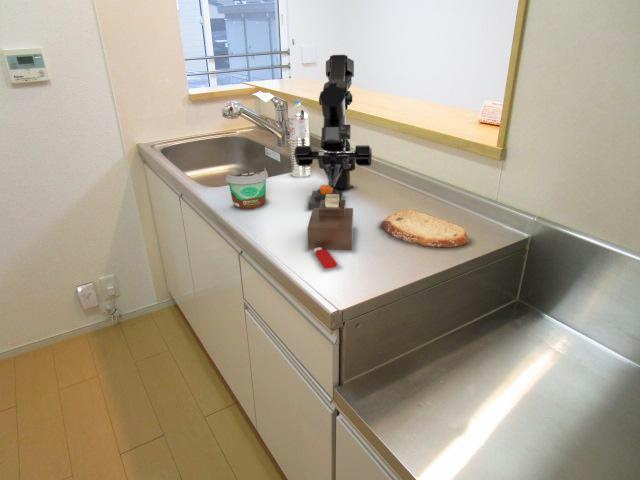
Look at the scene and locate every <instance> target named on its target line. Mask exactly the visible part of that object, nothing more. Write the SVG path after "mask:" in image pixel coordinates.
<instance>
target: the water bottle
mask: <svg viewBox="0 0 640 480" xmlns="http://www.w3.org/2000/svg"><path fill="white" fill-rule="evenodd" d="M301 101H302V100H301V99H298V98H297V99H294V103H295V104H294V105H292V107H291V108H290V109H289V111H288V113H287V118H288V129H289V130H288V131H289V139H288V140H289V153H290V171H291V176H292V177H295V178H306V177H309V176H310V175H311V174H312V164H311V165H310V166H298V165H297V163H296V159H295V156H294V151H295V148H296V147H297V146H311V136H310V113H309V111H308V109H307V108H306V106H304V105H302V104H301V103H302V102H301Z"/></svg>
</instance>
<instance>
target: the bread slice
mask: <svg viewBox="0 0 640 480" xmlns="http://www.w3.org/2000/svg"><path fill="white" fill-rule="evenodd" d="M380 227H381V228H383V229H384V230H385V232H386V233H387V234H389V235H390V236H391V237H393V238H396V239H399V240H401V241H404V242H407V243H409V244H410V243H411V244H418V245H421V246H425V247H432V248H434V247H435V248H455V247H460V246H464V245H466V244H468V243H469V237H468V234H467V231H466V230H465V228H464V227H461V226H459V225H457V224H455V223H451V222H449V221H447V220H444V219H443V218H438V217H435V216H432V215H429V214H425V213H421V212H418V211H415V210H411V209H405V210H404V209H403V210H400V211H396V212H394V213H393V214H390V215H388V216H387V217H386V218H385V219H383V221H382V222H381V224H380Z"/></svg>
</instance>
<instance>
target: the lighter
mask: <svg viewBox="0 0 640 480" xmlns="http://www.w3.org/2000/svg"><path fill="white" fill-rule="evenodd" d="M313 253H314V255H315V256H316V257H317V259H318V260H319V262H320V263H321V265H322V266H323V268H324V269H332V268H337V266H338V264H337V262H336V260H335V259H334V257H332V255H331V254H330V252H329V250H326V249H325V248H320V247H319V248H315V249H314V250H313Z"/></svg>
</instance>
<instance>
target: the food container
mask: <svg viewBox="0 0 640 480" xmlns="http://www.w3.org/2000/svg"><path fill="white" fill-rule="evenodd" d="M268 178H269V174H268V171H267V168H266V167H263V170H258V171H246V172H243V173H239V174H236V175H231V174H228V173H226V176H225V182H226V183H228V187H229V192H230V195H231V200H232V205H233V207H234V208H235V209H237V210H244V211H245V210H246V211H248V210H249V211H250V210H255V209H258V208H261V207H263V206H265V205H266V195H267V194H266V193H267V191H266V188H267V185H266V184H267V179H268Z"/></svg>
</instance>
